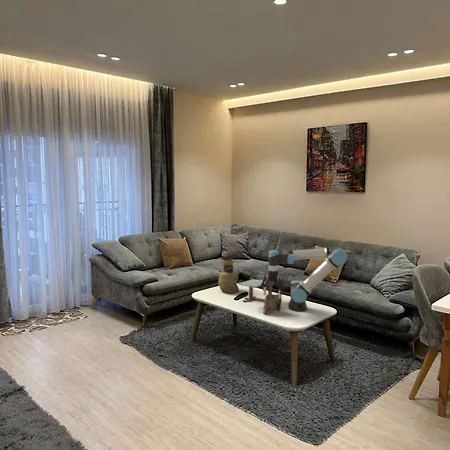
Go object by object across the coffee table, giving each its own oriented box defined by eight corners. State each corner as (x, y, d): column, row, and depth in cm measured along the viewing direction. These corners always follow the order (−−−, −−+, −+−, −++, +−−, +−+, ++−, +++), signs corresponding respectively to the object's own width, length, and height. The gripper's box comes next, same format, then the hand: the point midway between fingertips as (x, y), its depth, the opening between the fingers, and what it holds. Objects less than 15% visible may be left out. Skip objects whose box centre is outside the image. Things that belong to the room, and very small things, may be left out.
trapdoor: (274, 285, 347) (274, 277, 346) (254, 291, 320) (255, 282, 320) (258, 282, 356) (258, 274, 356) (238, 288, 329) (238, 279, 329)
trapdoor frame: (274, 302, 344) (275, 280, 341) (267, 306, 334) (268, 283, 331) (252, 297, 356) (253, 276, 354) (245, 301, 346) (246, 279, 344)
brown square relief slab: (265, 315, 313) (265, 296, 311) (262, 313, 317) (262, 294, 315) (282, 311, 322) (282, 293, 320) (278, 309, 325) (279, 291, 324)
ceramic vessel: (244, 292, 374) (245, 260, 370) (225, 295, 363) (225, 262, 359) (233, 287, 390) (233, 256, 386) (214, 290, 379) (214, 259, 375)
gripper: (289, 271, 311) (288, 298, 313) (261, 266, 325) (260, 292, 328) (285, 273, 305) (284, 300, 307) (257, 268, 319) (256, 294, 322)
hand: (272, 296), depth 318 cm, fingers open, 13 cm apart
